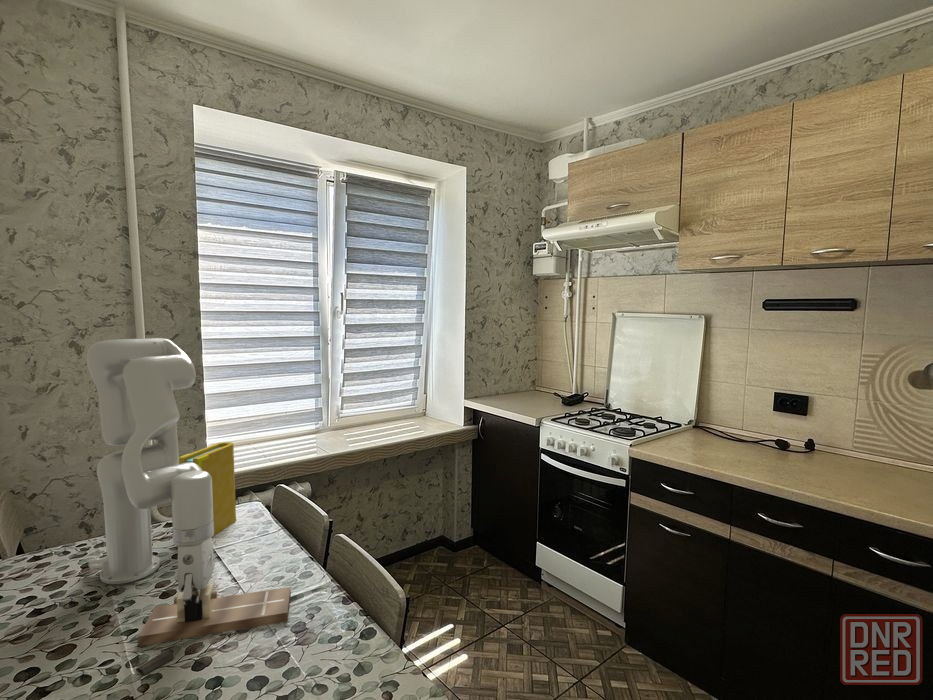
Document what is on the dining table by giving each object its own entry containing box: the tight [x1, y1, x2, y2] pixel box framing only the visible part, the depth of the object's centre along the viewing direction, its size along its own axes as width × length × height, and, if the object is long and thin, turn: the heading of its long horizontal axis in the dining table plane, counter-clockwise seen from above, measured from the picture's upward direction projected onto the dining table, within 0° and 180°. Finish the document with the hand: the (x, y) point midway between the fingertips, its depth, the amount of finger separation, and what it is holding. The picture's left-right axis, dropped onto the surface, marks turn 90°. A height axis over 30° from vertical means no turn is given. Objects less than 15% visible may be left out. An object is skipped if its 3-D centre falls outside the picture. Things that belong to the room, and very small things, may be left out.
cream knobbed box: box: [173, 583, 218, 622], centre depth 103 cm, size 8×4×5 cm, turn 106°
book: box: [179, 441, 237, 537], centre depth 145 cm, size 17×7×25 cm, turn 168°
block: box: [135, 648, 176, 676], centre depth 91 cm, size 4×6×2 cm, turn 150°
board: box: [137, 586, 292, 647], centre depth 104 cm, size 28×10×2 cm, turn 106°
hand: (197, 611), depth 103 cm, fingers closed on cream knobbed box, 4 cm apart
